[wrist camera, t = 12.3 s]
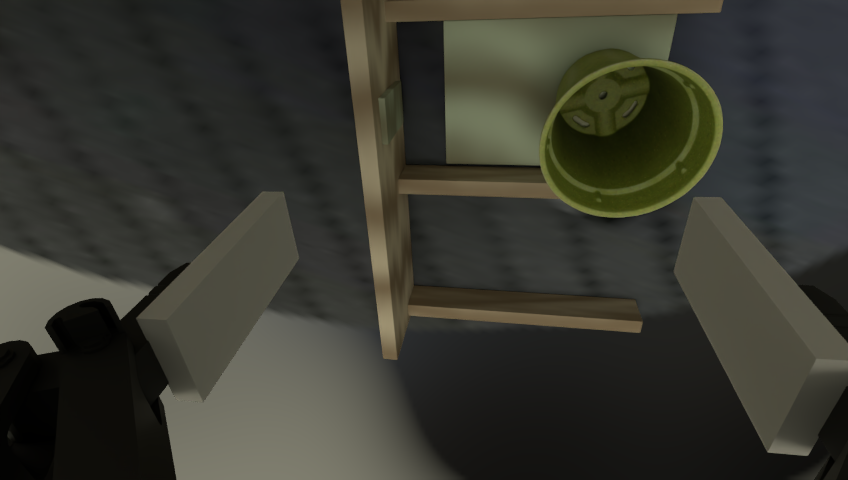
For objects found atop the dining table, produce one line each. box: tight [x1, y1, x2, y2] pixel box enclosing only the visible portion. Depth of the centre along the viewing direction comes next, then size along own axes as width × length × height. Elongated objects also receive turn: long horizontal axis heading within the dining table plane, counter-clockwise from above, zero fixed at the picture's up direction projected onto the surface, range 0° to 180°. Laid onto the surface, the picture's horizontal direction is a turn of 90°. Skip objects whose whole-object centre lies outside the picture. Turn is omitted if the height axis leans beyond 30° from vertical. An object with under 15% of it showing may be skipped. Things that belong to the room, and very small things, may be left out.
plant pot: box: [539, 48, 723, 217], centre depth 29 cm, size 9×9×9 cm
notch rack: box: [341, 0, 723, 360], centre depth 34 cm, size 27×21×8 cm
